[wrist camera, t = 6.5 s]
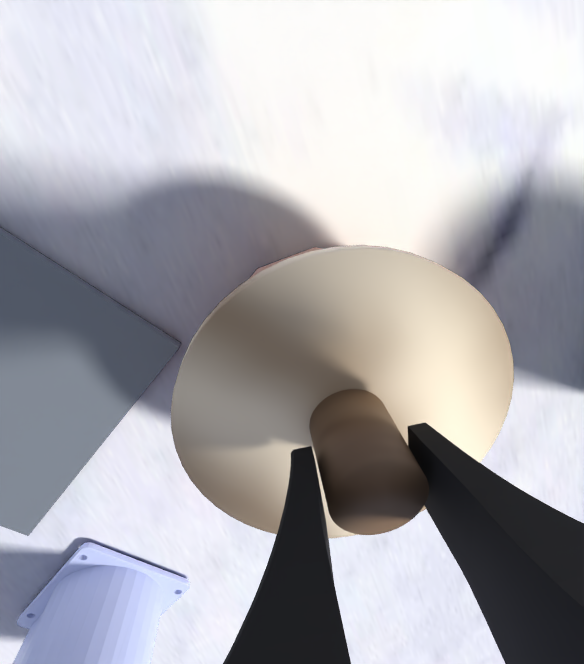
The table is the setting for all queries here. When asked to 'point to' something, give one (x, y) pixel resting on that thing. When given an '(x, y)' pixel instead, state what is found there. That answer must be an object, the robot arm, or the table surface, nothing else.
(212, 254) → the table surface
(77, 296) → the mat
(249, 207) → the table surface
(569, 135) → the table surface
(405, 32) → the table surface
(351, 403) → the lid
